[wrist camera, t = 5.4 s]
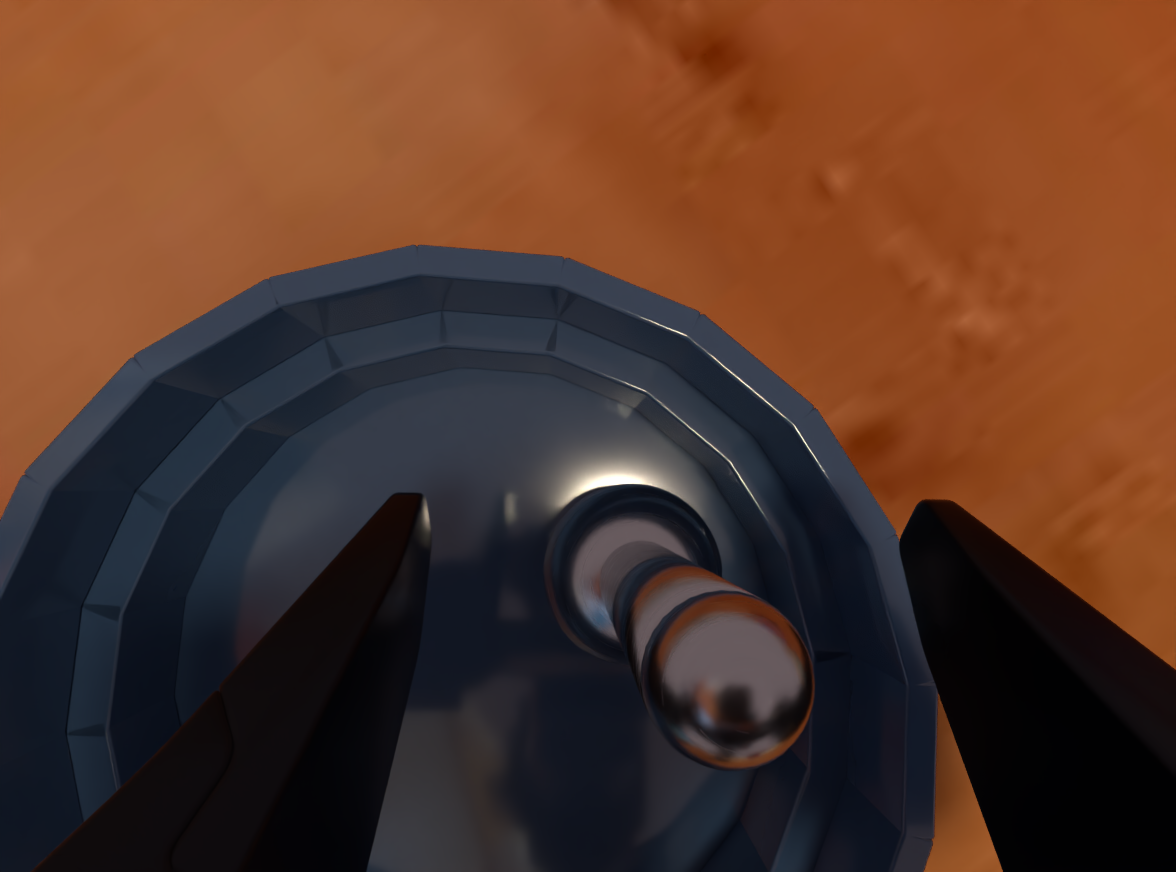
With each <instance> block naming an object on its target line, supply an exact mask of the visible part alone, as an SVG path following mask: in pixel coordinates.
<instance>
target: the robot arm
mask: <svg viewBox="0 0 1176 872" xmlns="http://www.w3.org/2000/svg"><path fill="white" fill-rule="evenodd" d="M431 547H432V533H431V526H430V520H429V514H428V508H427V502H426V498H425V496H424V495H423V494H422V493H419V492H397V493H394V494H392V495H391V496H390V497H389V498H388V499H387V500H386V502H385V503H384V504H383V505H382V506H381V507H380V508H379V509H378V510H377V511H376V513H375V514H374V515H373V516H372V517H371V518H370V519H369V520H368V521H367V523H366V524H365V525H364V526H363V527H362V528H361V529H360V530H359V531H358V532H357V534H356V535H355V536H354V537H353V538H352V539H351V540H350V541H349V542H348V544H347V545H346V546H345V547H344V548H343V549H342V550H341V551H340V552H339V553H338V555H337V556H336V557H335V558H334V559H333V560H332V561H331V562H330V563H329V565H328V566H327V567H326V568H325V569H324V570H323V571H322V572H321V573H320V574H319V576H318V577H317V578H316V579H315V580H314V581H313V582H312V583H311V584H310V585H309V587H308V588H307V589H306V590H305V591H304V592H303V593H302V594H301V595H300V597H299V598H298V599H297V600H296V601H295V602H294V603H293V604H292V605H291V606H290V608H289V609H288V610H287V611H286V612H285V613H284V614H283V615H282V616H281V618H280V619H279V620H278V621H277V622H276V623H275V624H274V625H273V626H272V627H271V629H270V630H269V631H268V632H267V633H266V634H265V635H264V636H263V637H262V639H261V640H260V641H259V642H258V643H257V644H256V645H255V646H254V647H253V648H252V650H251V651H250V652H249V653H248V654H247V655H246V656H245V657H244V658H243V660H242V661H241V662H240V663H239V664H238V665H237V666H236V667H235V668H234V669H233V671H232V672H231V673H230V674H229V675H228V676H227V677H226V678H225V679H224V681H223V682H222V683H221V684H220V685H219V690H220V691H218V690H215V691H213V692H212V693H211V694H210V696H209V697H208V698H207V699H206V700H205V701H204V702H203V703H202V704H201V706H200V707H199V708H198V709H197V710H196V711H195V712H194V713H193V714H192V715H191V717H190V718H189V719H188V720H187V721H186V722H185V723H184V724H183V725H182V726H181V727H180V728H179V729H178V730H177V731H176V732H175V733H174V734H173V736H172V737H171V738H170V739H169V740H168V741H167V742H166V743H165V744H164V745H163V746H162V747H161V748H160V749H159V750H158V751H157V752H156V753H155V755H153V756H152V757H151V758H150V759H149V760H148V761H147V762H146V763H145V764H144V765H143V766H142V767H141V768H140V769H139V770H138V771H137V772H136V773H135V774H134V775H133V776H132V777H131V778H130V779H129V780H128V781H127V782H126V783H125V784H124V785H123V786H122V787H120V788H119V789H118V790H117V791H116V792H115V793H114V794H113V795H112V796H111V797H110V798H109V799H108V800H107V801H106V802H105V803H104V804H103V805H102V806H101V807H99V808H98V809H97V810H96V811H95V812H94V813H93V814H92V815H91V816H90V817H89V818H88V819H87V820H86V821H84V822H83V823H82V824H81V825H80V826H79V827H78V828H77V829H76V830H75V831H74V832H73V833H72V834H70V835H69V836H68V837H67V838H66V839H65V840H64V841H63V842H62V843H61V844H60V845H59V846H58V847H57V848H55V849H54V850H53V851H52V852H51V853H50V854H49V855H48V856H47V857H46V858H45V859H44V860H43V861H42V862H40V863H39V864H38V865H37V866H36V867H35V868H34V869H33V870H32V871H31V872H366V871H367V867H368V863H369V859H370V855H371V851H372V846H373V842H374V838H375V834H376V830H377V826H378V822H379V817H380V813H381V809H382V805H383V801H384V797H385V792H386V788H387V784H388V780H389V776H390V772H391V767H392V763H393V759H394V755H395V751H396V747H397V742H398V738H399V734H400V730H401V726H402V722H403V717H404V713H405V709H406V705H407V701H408V697H409V692H410V688H411V684H412V680H413V676H414V672H415V667H416V663H417V658H418V653H419V649H420V642H421V635H422V627H423V618H424V609H425V601H426V592H427V583H428V574H429V565H430V557H431ZM899 552H900V557H901V561H902V566H903V570H904V574H905V578H906V582H907V586H908V591H909V595H910V599H911V603H912V607H913V612H914V616H915V620H916V624H917V628H918V632H919V636H920V640H921V644H922V647H923V651H924V654H925V657H926V660H927V663H928V666H929V669H930V671H931V674H932V677H933V680H934V682H935V685H936V688H937V691H938V693H939V696H940V699H941V702H942V704H943V707H944V710H945V713H946V715H947V718H948V721H949V724H950V726H951V729H952V732H953V735H954V737H955V740H956V743H957V746H958V748H959V751H960V754H961V757H962V760H963V762H964V765H965V768H966V771H967V773H968V776H969V779H970V782H971V784H972V787H973V790H974V793H975V795H976V798H977V801H978V804H979V806H980V809H981V812H982V815H983V817H984V820H985V823H986V826H987V828H988V831H989V834H990V837H991V840H992V842H993V845H994V848H995V851H996V853H997V856H998V859H999V862H1000V864H1001V867H1002V870H1003V872H1176V670H1175V669H1174V668H1173V667H1171V666H1170V665H1169V664H1167V663H1166V662H1165V661H1163V660H1162V659H1161V658H1159V657H1158V656H1157V655H1155V654H1154V653H1153V652H1152V651H1150V650H1149V649H1148V648H1146V647H1145V646H1144V645H1142V644H1141V643H1140V642H1138V641H1137V640H1136V639H1134V638H1133V637H1132V636H1130V635H1129V634H1128V633H1127V632H1125V631H1124V630H1123V629H1121V628H1120V627H1119V626H1117V625H1116V624H1115V623H1113V622H1112V621H1111V620H1109V619H1108V618H1107V617H1105V616H1104V615H1103V614H1101V613H1100V612H1099V611H1098V610H1096V609H1095V608H1094V607H1092V606H1091V605H1090V604H1088V603H1087V602H1086V601H1084V600H1083V599H1082V598H1080V597H1079V596H1078V595H1076V594H1075V593H1074V592H1072V591H1071V590H1070V589H1069V588H1067V587H1066V586H1065V585H1063V584H1062V583H1061V582H1059V581H1058V580H1057V579H1055V578H1054V577H1053V576H1051V575H1050V574H1049V573H1047V572H1046V571H1045V570H1044V569H1042V568H1041V567H1040V566H1038V565H1037V564H1036V563H1034V562H1033V561H1032V560H1030V559H1029V558H1028V557H1026V556H1025V555H1024V554H1022V553H1021V552H1020V551H1018V550H1017V549H1016V548H1015V547H1013V546H1012V545H1011V544H1009V543H1008V542H1007V541H1005V540H1004V539H1003V538H1001V537H1000V536H999V535H997V534H996V533H995V532H993V531H992V530H991V529H989V528H988V527H987V526H986V525H984V524H983V523H982V522H980V521H979V520H978V519H976V518H975V517H974V516H972V515H971V514H970V513H968V512H967V511H966V510H964V509H963V508H962V507H961V506H959V505H958V504H956V503H955V502H953V501H951V500H935V499H925V500H922V501H920V502H919V503H918V504H917V505H916V507H915V509H914V511H913V513H912V515H911V517H910V519H909V521H908V523H907V525H906V527H905V529H904V531H903V533H902V535H901V538H900V542H899Z"/></svg>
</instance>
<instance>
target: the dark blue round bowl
mask: <svg viewBox="0 0 1176 872" xmlns="http://www.w3.org/2000/svg"><path fill="white" fill-rule="evenodd" d="M632 483H636V484H645V485H650V486H654V487H658V488H661V489H663V490H666V491H668V492H670V493H672V494H674V495H676V496H678V497H680V498H681V499H683V500H684V501H685V502H687V503H688V504H689V505H690V506H692V507H693V508H694V509H695V510H696V511H697V512H698V513H699V515H700V516H701V517H702V518H703V519H704V521H705V522H706V524H707V525H708V527H709V528H710V530H711V532H712V534H713V536H714V538H715V540H716V543H717V546H718V549H719V553H720V557H721V563H722V574H723V579H725V580H727V581H729V582H731V583H733V584H734V585H736V586H738V587H740V588H742V589H744V590H746V591H748V592H749V593H751V594H753V595H755V596H757V597H759V598H761V599H763V600H764V601H766V602H768V603H770V604H771V605H772V606H774V607H775V608H777V609H778V610H779V611H780V612H781V613H782V614H783V615H784V616H785V617H786V618H787V619H788V620H789V621H790V622H791V623H792V624H793V626H794V627H795V628H796V629H797V630H798V632H799V634H800V636H801V637H802V639H803V641H804V642H805V644H806V647H807V649H808V652H809V655H810V658H811V661H812V665H813V672H814V678H815V698H814V703H813V707H812V712H811V715H810V718H809V720H808V722H807V724H806V727H805V729H804V731H803V732H802V734H801V735H800V736H799V738H798V739H797V741H796V742H795V743H794V744H793V745H792V746H791V747H790V748H789V749H788V750H787V751H786V752H785V753H784V754H783V755H781V756H780V757H778V758H777V759H775V760H773V761H772V762H770V763H769V764H766V765H763V766H761V767H758V768H755V769H751V770H744V771H738V772H736V771H721V770H717V769H713V768H709V767H706V766H702V765H700V764H698V763H696V762H694V761H692V760H690V759H688V758H686V757H684V756H683V755H682V754H680V753H679V752H678V751H676V750H675V749H674V748H673V747H671V745H670V744H669V743H668V742H667V741H666V740H665V738H664V737H663V736H662V735H661V734H660V733H659V731H658V730H657V729H656V727H655V725H654V724H653V722H652V721H651V719H650V717H649V715H648V712H647V710H646V707H645V705H644V702H643V700H642V697H641V695H640V692H639V690H638V687H637V685H636V682H635V680H634V677H633V675H632V672H631V670H630V667H629V666H623V665H617V664H613V663H609V662H606V661H603V660H601V659H598V658H596V657H594V656H592V655H590V654H588V653H586V652H585V651H583V650H582V649H581V648H579V647H578V646H577V645H575V644H574V643H573V642H572V641H571V640H570V639H569V638H568V637H567V636H566V634H565V633H564V632H563V631H562V629H561V628H560V627H559V625H558V623H557V622H556V620H555V619H554V617H553V614H552V612H551V610H550V608H549V605H548V602H547V598H546V595H545V589H544V583H543V565H544V557H545V553H546V549H547V545H548V543H549V540H550V537H551V535H552V533H553V531H554V529H555V527H556V526H557V524H558V523H559V521H560V520H561V519H562V517H563V516H564V515H565V514H566V513H567V511H568V510H569V509H570V508H571V507H572V506H574V505H575V504H576V503H577V502H578V501H580V500H581V499H583V498H584V497H586V496H587V495H589V494H591V493H593V492H595V491H597V490H600V489H602V488H606V487H609V486H613V485H619V484H632ZM397 492H419V493H422V494H423V495H424V496H425V498H426V502H427V508H428V514H429V520H430V526H431V533H432V547H431V557H430V565H429V574H428V583H427V592H426V601H425V609H424V618H423V627H422V635H421V642H420V649H419V653H418V658H417V663H416V667H415V672H414V676H413V680H412V684H411V688H410V692H409V697H408V701H407V705H406V709H405V713H404V717H403V722H402V726H401V730H400V734H399V738H398V742H397V747H396V751H395V755H394V759H393V763H392V767H391V772H390V776H389V780H388V784H387V788H386V792H385V797H384V801H383V805H382V809H381V813H380V817H379V822H378V826H377V830H376V834H375V838H374V842H373V846H372V851H371V855H370V859H369V863H368V867H367V871H366V872H924V869H925V866H926V863H927V860H928V857H929V855H930V852H931V849H932V846H933V841H932V839H933V838H934V829H935V792H936V754H937V717H938V691H937V688H936V685H935V682H934V680H933V677H932V674H931V671H930V669H929V666H928V663H927V660H926V657H925V654H924V651H923V647H922V644H921V640H920V636H919V632H918V628H917V624H916V620H915V616H914V612H913V607H912V603H911V599H910V595H909V591H908V586H907V582H906V578H905V574H904V570H903V566H902V561H901V557H900V552H899V539H898V537H897V535H895V534H896V531H895V529H894V528H893V526H892V524H891V523H890V521H889V520H888V518H887V517H886V515H885V514H884V512H883V510H882V509H881V507H880V506H879V504H878V503H877V501H876V500H875V498H874V496H873V495H872V493H871V492H870V490H869V489H868V487H867V486H866V484H865V483H864V481H863V479H862V478H861V476H860V475H859V473H858V472H857V470H856V469H855V467H854V465H853V464H852V462H851V461H850V459H849V458H848V456H847V455H846V453H845V451H844V450H843V448H842V447H841V445H840V444H839V442H838V441H837V439H836V438H835V436H834V434H833V433H832V431H831V430H830V428H829V427H828V425H827V424H826V422H825V420H824V419H823V417H822V416H821V414H820V413H819V411H818V410H817V409H816V408H814V406H813V405H812V404H811V403H810V402H809V401H808V400H806V399H805V398H804V397H803V396H802V395H800V394H799V393H798V392H797V391H796V390H794V389H793V388H792V387H791V386H790V385H788V384H787V383H786V382H785V381H784V380H782V379H781V378H780V377H779V376H778V375H776V374H775V373H774V372H773V371H772V370H770V369H769V368H768V367H767V366H766V365H764V364H763V363H762V362H761V361H760V360H758V359H757V358H756V357H755V356H754V355H752V354H751V353H750V352H749V351H748V350H746V349H745V348H744V347H743V346H742V345H740V344H739V343H738V342H737V341H736V340H734V339H733V338H732V337H731V336H730V335H728V334H727V333H726V332H725V331H724V330H722V329H721V328H720V327H719V326H718V325H716V324H715V323H714V322H713V321H711V320H710V319H709V318H708V317H707V316H705V315H704V314H701V315H700V312H699V311H697V310H695V309H692V308H690V307H687V306H685V305H683V304H680V303H678V302H675V301H673V300H670V299H668V298H665V297H663V296H660V295H658V294H656V293H653V292H651V291H648V290H646V289H643V288H641V287H638V286H636V285H634V284H631V283H629V282H626V281H624V280H621V279H619V278H616V277H614V276H612V275H609V274H607V273H604V272H602V271H599V270H597V269H594V268H592V267H589V266H587V265H585V264H582V263H580V262H577V261H575V260H572V259H570V258H565V259H564V257H562V256H552V255H540V254H528V253H516V252H503V251H491V250H479V249H467V248H455V247H442V246H430V245H418V246H416V245H411V246H406V247H402V248H397V249H393V250H388V251H384V252H379V253H375V254H371V255H366V256H362V257H357V258H353V259H348V260H344V261H340V262H335V263H331V264H326V265H322V266H317V267H313V268H308V269H304V270H300V271H295V272H291V273H286V274H282V275H277V276H273V277H270V278H269V280H268V279H265V280H263V281H261V282H259V283H258V284H256V285H254V286H252V287H251V288H249V289H247V290H246V291H244V292H242V293H240V294H239V295H237V296H235V297H233V298H232V299H230V300H228V301H226V302H225V303H223V304H221V305H219V306H218V307H216V308H214V309H212V310H211V311H209V312H207V313H206V314H204V315H202V316H200V317H199V318H197V319H195V320H193V321H192V322H190V323H188V324H186V325H185V326H183V327H181V328H179V329H178V330H176V331H174V332H172V333H171V334H169V335H167V336H166V337H164V338H162V339H160V340H159V341H157V342H155V343H153V344H152V345H150V346H148V347H146V348H145V349H143V350H141V351H139V352H138V353H136V354H135V355H134V357H132V358H130V359H129V360H128V361H127V362H126V363H125V364H124V365H123V366H122V367H121V368H120V370H119V371H118V372H117V373H116V374H115V375H114V376H113V377H112V378H111V379H110V380H109V381H108V382H107V383H106V385H105V386H104V387H103V388H102V389H101V390H100V391H99V392H98V393H97V394H96V395H95V396H94V397H93V399H92V400H91V401H90V402H89V403H88V404H87V405H86V406H85V407H84V408H83V409H82V410H81V411H80V412H79V414H78V415H77V416H76V417H75V418H74V419H73V420H72V421H71V422H70V423H69V424H68V425H67V426H66V427H65V429H64V430H63V431H62V432H61V433H60V434H59V435H58V436H57V437H56V438H55V439H54V440H53V441H52V443H51V444H50V445H49V446H48V447H47V448H46V449H45V450H44V451H43V452H42V453H41V454H40V455H39V456H38V458H37V459H36V460H35V461H34V462H33V463H32V464H31V465H30V466H29V467H28V468H27V469H26V470H25V475H23V476H22V477H21V478H20V480H19V482H18V484H17V486H16V488H15V490H14V492H13V494H12V496H11V499H10V501H9V503H8V505H7V507H6V509H5V511H4V513H3V515H2V517H1V519H0V872H31V871H32V870H33V869H34V868H35V867H36V866H37V865H38V864H39V863H40V862H42V861H43V860H44V859H45V858H46V857H47V856H48V855H49V854H50V853H51V852H52V851H53V850H54V849H55V848H57V847H58V846H59V845H60V844H61V843H62V842H63V841H64V840H65V839H66V838H67V837H68V836H69V835H70V834H72V833H73V832H74V831H75V830H76V829H77V828H78V827H79V826H80V825H81V824H82V823H83V822H84V821H86V820H87V819H88V818H89V817H90V816H91V815H92V814H93V813H94V812H95V811H96V810H97V809H98V808H99V807H101V806H102V805H103V804H104V803H105V802H106V801H107V800H108V799H109V798H110V797H111V796H112V795H113V794H114V793H115V792H116V791H117V790H118V789H119V788H120V787H122V786H123V785H124V784H125V783H126V782H127V781H128V780H129V779H130V778H131V777H132V776H133V775H134V774H135V773H136V772H137V771H138V770H139V769H140V768H141V767H142V766H143V765H144V764H145V763H146V762H147V761H148V760H149V759H150V758H151V757H152V756H153V755H155V753H156V752H157V751H158V750H159V749H160V748H161V747H162V746H163V745H164V744H165V743H166V742H167V741H168V740H169V739H170V738H171V737H172V736H173V734H174V733H175V732H176V731H177V730H178V729H179V728H180V727H181V726H182V725H183V724H184V723H185V722H186V721H187V720H188V719H189V718H190V717H191V715H192V714H193V713H194V712H195V711H196V710H197V709H198V708H199V707H200V706H201V704H202V703H203V702H204V701H205V700H206V699H207V698H208V697H209V696H210V694H211V693H212V692H213V691H215V690H218V691H220V690H219V685H220V684H221V683H222V682H223V681H224V679H225V678H226V677H227V676H228V675H229V674H230V673H231V672H232V671H233V669H234V668H235V667H236V666H237V665H238V664H239V663H240V662H241V661H242V660H243V658H244V657H245V656H246V655H247V654H248V653H249V652H250V651H251V650H252V648H253V647H254V646H255V645H256V644H257V643H258V642H259V641H260V640H261V639H262V637H263V636H264V635H265V634H266V633H267V632H268V631H269V630H270V629H271V627H272V626H273V625H274V624H275V623H276V622H277V621H278V620H279V619H280V618H281V616H282V615H283V614H284V613H285V612H286V611H287V610H288V609H289V608H290V606H291V605H292V604H293V603H294V602H295V601H296V600H297V599H298V598H299V597H300V595H301V594H302V593H303V592H304V591H305V590H306V589H307V588H308V587H309V585H310V584H311V583H312V582H313V581H314V580H315V579H316V578H317V577H318V576H319V574H320V573H321V572H322V571H323V570H324V569H325V568H326V567H327V566H328V565H329V563H330V562H331V561H332V560H333V559H334V558H335V557H336V556H337V555H338V553H339V552H340V551H341V550H342V549H343V548H344V547H345V546H346V545H347V544H348V542H349V541H350V540H351V539H352V538H353V537H354V536H355V535H356V534H357V532H358V531H359V530H360V529H361V528H362V527H363V526H364V525H365V524H366V523H367V521H368V520H369V519H370V518H371V517H372V516H373V515H374V514H375V513H376V511H377V510H378V509H379V508H380V507H381V506H382V505H383V504H384V503H385V502H386V500H387V499H388V498H389V497H390V496H391V495H392V494H394V493H397Z"/></svg>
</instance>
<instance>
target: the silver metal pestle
mask: <svg viewBox="0 0 1176 872" xmlns="http://www.w3.org/2000/svg"><path fill="white" fill-rule="evenodd" d="M543 583H544V589H545V595H546V598H547V602H548V605H549V608H550V610H551V612H552V614H553V617H554V619H555V620H556V622H557V623H558V625H559V627H560V628H561V629H562V631H563V632H564V633H565V634H566V636H567V637H568V638H569V639H570V640H571V641H572V642H573V643H574V644H575V645H577V646H578V647H579V648H581V649H582V650H583V651H585V652H586V653H588V654H590V655H592V656H594V657H596V658H598V659H601V660H603V661H606V662H609V663H613V664H617V665H623V666H629V667H630V670H631V672H632V675H633V677H634V680H635V682H636V685H637V687H638V690H639V692H640V695H641V697H642V700H643V702H644V705H645V707H646V710H647V712H648V715H649V717H650V719H651V721H652V722H653V724H654V725H655V727H656V729H657V730H658V731H659V733H660V734H661V735H662V736H663V737H664V738H665V740H666V741H667V742H668V743H669V744H670V745H671V747H673V748H674V749H675V750H676V751H678V752H679V753H680V754H682V755H683V756H684V757H686V758H688V759H690V760H692V761H694V762H696V763H698V764H700V765H702V766H706V767H709V768H713V769H717V770H721V771H736V772H738V771H744V770H751V769H755V768H758V767H761V766H763V765H766V764H769V763H770V762H772V761H773V760H775V759H777V758H778V757H780V756H781V755H783V754H784V753H785V752H786V751H787V750H788V749H789V748H790V747H791V746H792V745H793V744H794V743H795V742H796V741H797V739H798V738H799V736H800V735H801V734H802V732H803V731H804V729H805V727H806V724H807V722H808V720H809V718H810V715H811V712H812V707H813V703H814V698H815V678H814V672H813V665H812V661H811V658H810V655H809V652H808V649H807V647H806V644H805V642H804V641H803V639H802V637H801V636H800V634H799V632H798V630H797V629H796V628H795V627H794V626H793V624H792V623H791V622H790V621H789V620H788V619H787V618H786V617H785V616H784V615H783V614H782V613H781V612H780V611H779V610H778V609H777V608H775V607H774V606H772V605H771V604H770V603H768V602H766V601H764V600H763V599H761V598H759V597H757V596H755V595H753V594H751V593H749V592H748V591H746V590H744V589H742V588H740V587H738V586H736V585H734V584H733V583H731V582H729V581H727V580H725V579H723V574H722V563H721V557H720V553H719V549H718V546H717V543H716V540H715V538H714V536H713V534H712V532H711V530H710V528H709V527H708V525H707V524H706V522H705V521H704V519H703V518H702V517H701V516H700V515H699V513H698V512H697V511H696V510H695V509H694V508H693V507H692V506H690V505H689V504H688V503H687V502H685V501H684V500H683V499H681V498H680V497H678V496H676V495H674V494H672V493H670V492H668V491H666V490H663V489H661V488H658V487H654V486H650V485H645V484H636V483H632V484H619V485H613V486H609V487H606V488H602V489H600V490H597V491H595V492H593V493H591V494H589V495H587V496H586V497H584V498H583V499H581V500H580V501H578V502H577V503H576V504H575V505H574V506H572V507H571V508H570V509H569V510H568V511H567V513H566V514H565V515H564V516H563V517H562V519H561V520H560V521H559V523H558V524H557V526H556V527H555V529H554V531H553V533H552V535H551V537H550V540H549V543H548V545H547V549H546V553H545V557H544V565H543Z"/></svg>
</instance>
